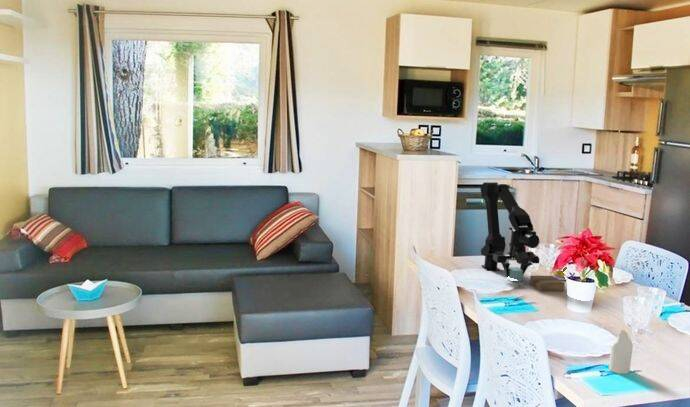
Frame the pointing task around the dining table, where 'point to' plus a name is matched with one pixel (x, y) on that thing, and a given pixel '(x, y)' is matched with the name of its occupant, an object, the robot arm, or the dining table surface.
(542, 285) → the walnut block
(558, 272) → the supplement bottle
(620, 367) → the beige bottle
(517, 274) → the teal cube
